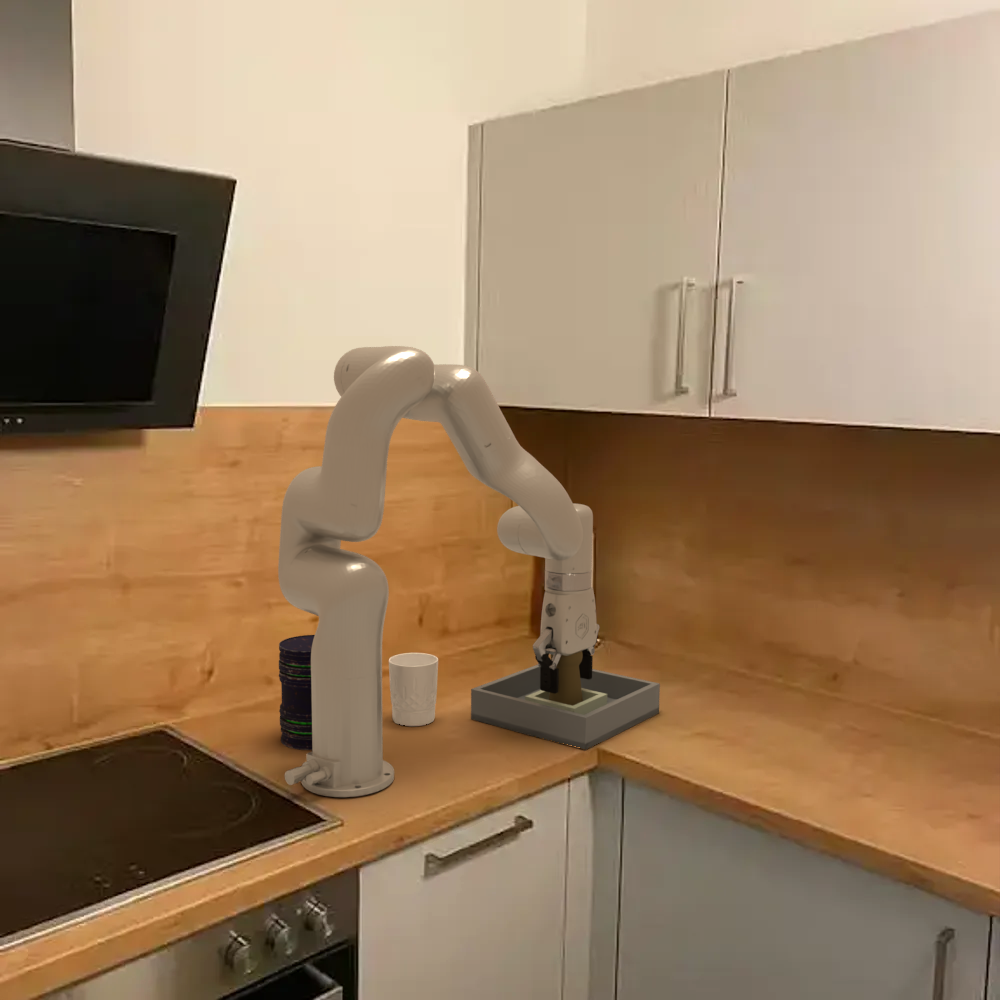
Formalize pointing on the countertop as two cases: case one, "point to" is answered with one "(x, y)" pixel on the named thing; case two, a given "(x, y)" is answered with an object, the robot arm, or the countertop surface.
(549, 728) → the open box
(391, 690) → the white cup
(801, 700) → the countertop surface
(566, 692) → the brown pepper mill
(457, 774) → the countertop surface
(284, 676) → the storage jar
